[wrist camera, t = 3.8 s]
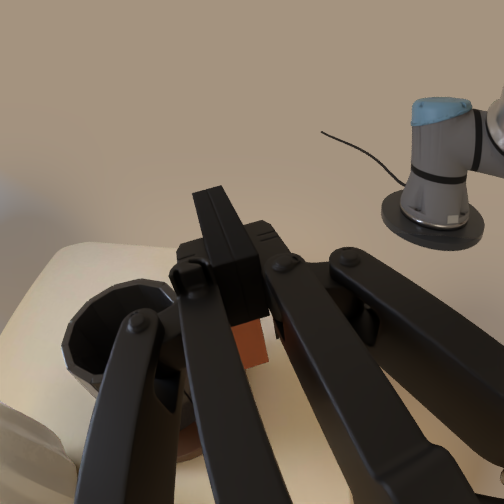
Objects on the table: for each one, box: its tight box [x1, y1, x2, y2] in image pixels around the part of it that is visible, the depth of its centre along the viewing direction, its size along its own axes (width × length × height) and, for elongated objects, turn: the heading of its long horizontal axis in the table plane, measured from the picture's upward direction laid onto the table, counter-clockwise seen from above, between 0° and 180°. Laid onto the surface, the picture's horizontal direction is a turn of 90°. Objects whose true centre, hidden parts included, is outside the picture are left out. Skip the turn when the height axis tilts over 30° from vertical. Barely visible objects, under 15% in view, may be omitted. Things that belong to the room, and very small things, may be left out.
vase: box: [0, 401, 78, 504], centre depth 13 cm, size 14×14×13 cm
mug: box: [61, 279, 269, 432], centre depth 24 cm, size 12×15×10 cm
